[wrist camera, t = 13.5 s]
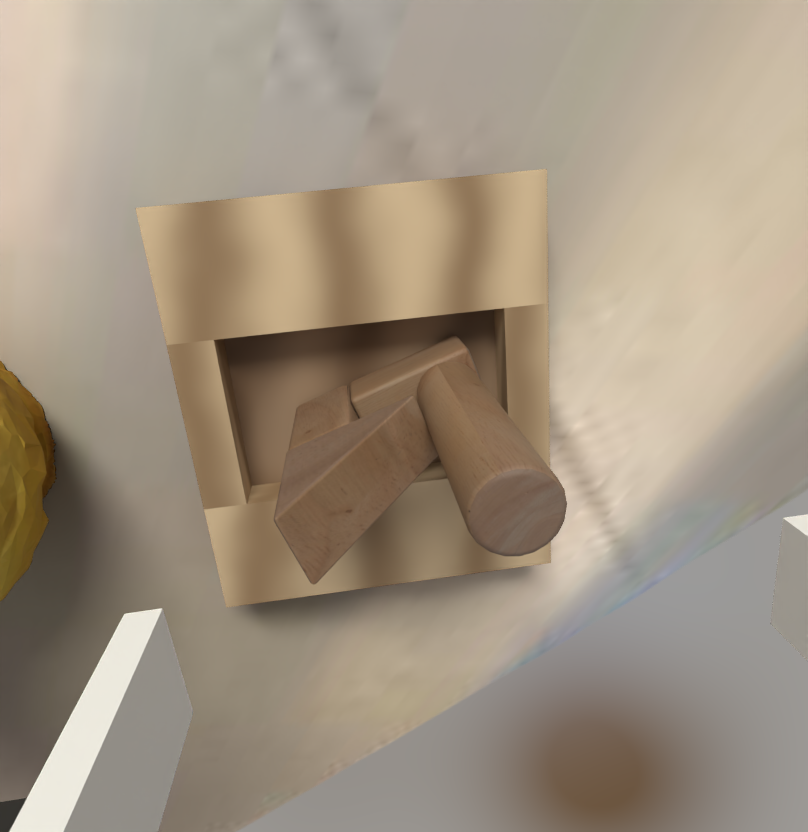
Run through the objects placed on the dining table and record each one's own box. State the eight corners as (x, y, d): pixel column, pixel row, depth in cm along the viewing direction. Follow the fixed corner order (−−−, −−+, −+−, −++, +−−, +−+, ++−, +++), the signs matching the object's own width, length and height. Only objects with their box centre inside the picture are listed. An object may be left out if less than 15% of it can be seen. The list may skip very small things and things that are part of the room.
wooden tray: (524, 171, 36) (546, 169, 32) (532, 531, 44) (550, 562, 40) (157, 206, 34) (135, 208, 31) (236, 571, 43) (226, 607, 39)
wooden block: (294, 405, 37) (258, 575, 21) (455, 332, 37) (555, 445, 20) (321, 455, 39) (308, 654, 22) (477, 385, 38) (588, 533, 21)
